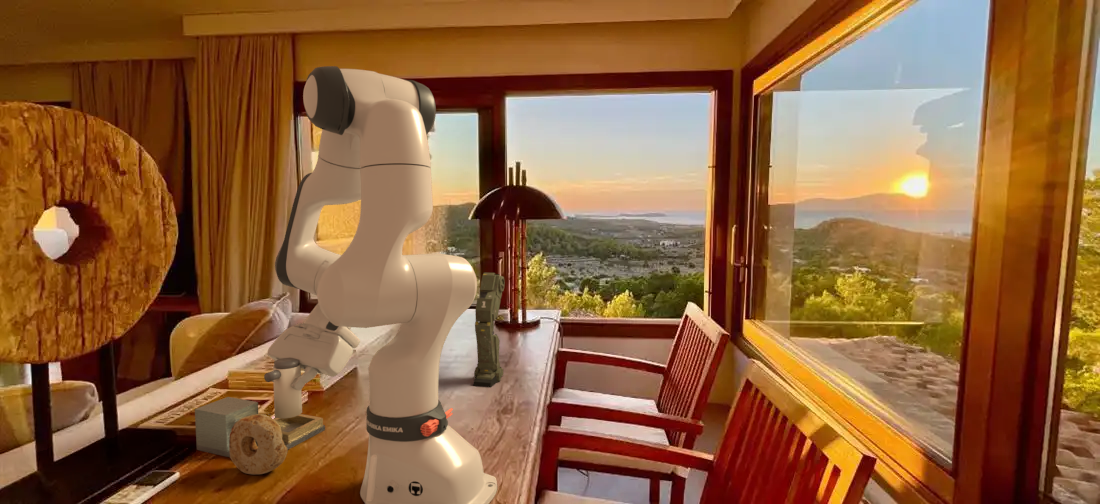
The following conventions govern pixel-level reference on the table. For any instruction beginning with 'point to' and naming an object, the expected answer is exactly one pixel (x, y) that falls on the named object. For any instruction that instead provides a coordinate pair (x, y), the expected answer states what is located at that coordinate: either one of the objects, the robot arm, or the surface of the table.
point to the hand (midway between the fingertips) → (284, 385)
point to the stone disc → (246, 450)
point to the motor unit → (226, 412)
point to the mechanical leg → (488, 331)
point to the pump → (285, 387)
